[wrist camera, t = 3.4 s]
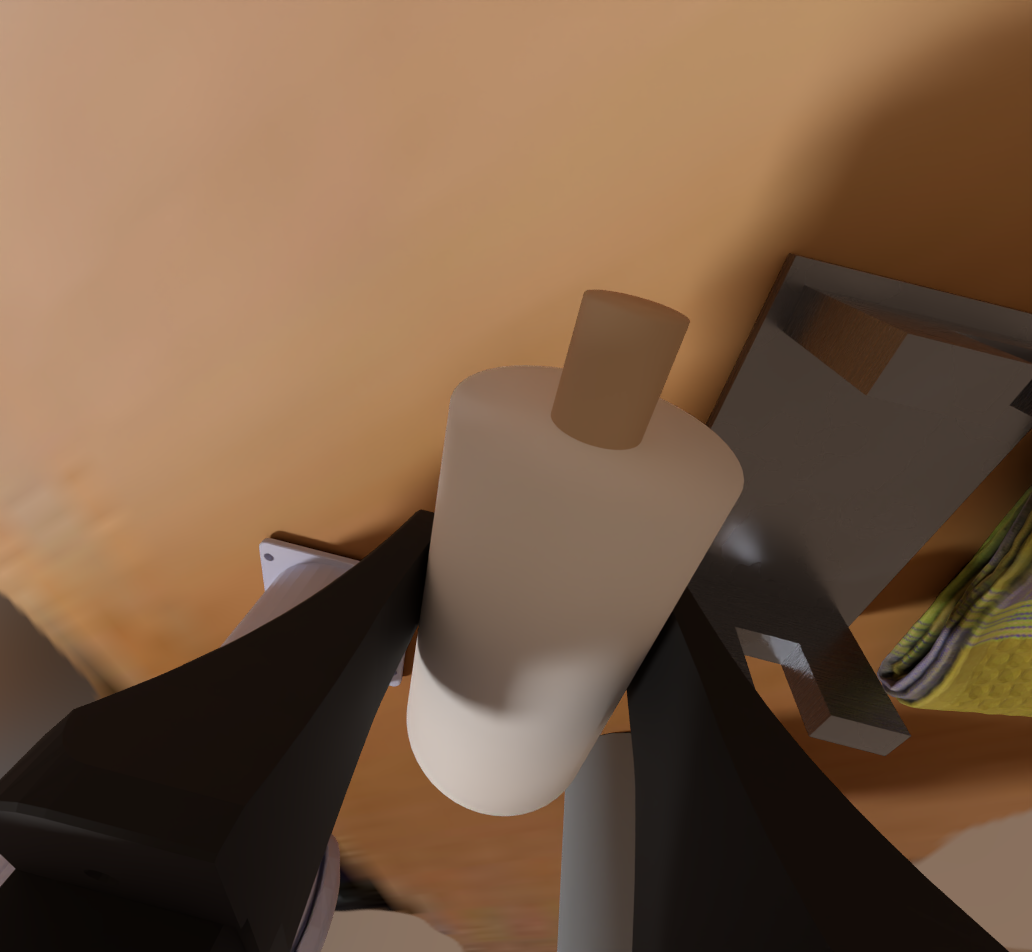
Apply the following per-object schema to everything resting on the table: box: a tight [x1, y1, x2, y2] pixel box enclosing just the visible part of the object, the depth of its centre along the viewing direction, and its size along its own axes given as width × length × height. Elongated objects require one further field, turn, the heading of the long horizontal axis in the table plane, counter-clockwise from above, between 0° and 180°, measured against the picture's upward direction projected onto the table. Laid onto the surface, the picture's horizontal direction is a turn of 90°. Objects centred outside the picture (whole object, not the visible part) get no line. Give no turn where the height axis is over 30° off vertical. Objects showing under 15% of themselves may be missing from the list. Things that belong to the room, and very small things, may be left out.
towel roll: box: [407, 290, 744, 816], centre depth 10 cm, size 13×5×5 cm, turn 168°
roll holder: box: [687, 253, 1032, 756], centre depth 16 cm, size 15×10×6 cm, turn 168°
